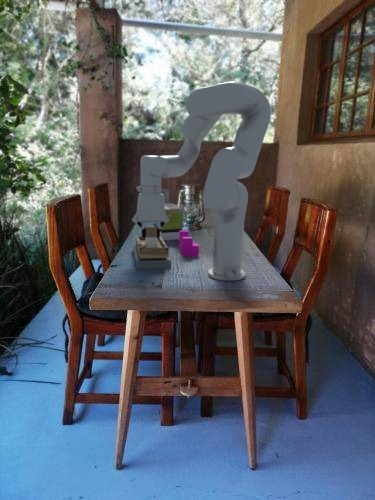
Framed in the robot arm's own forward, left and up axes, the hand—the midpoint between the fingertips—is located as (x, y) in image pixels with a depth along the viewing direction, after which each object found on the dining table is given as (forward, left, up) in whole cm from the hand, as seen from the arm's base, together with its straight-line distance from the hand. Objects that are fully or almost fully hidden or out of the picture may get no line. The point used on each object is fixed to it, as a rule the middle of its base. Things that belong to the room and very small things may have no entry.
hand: (150, 238), depth 152 cm
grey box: (-7, 0, -2) cm, 7 cm away
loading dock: (0, 0, -8) cm, 8 cm away
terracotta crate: (+9, +34, -76) cm, 84 cm away
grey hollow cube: (+100, -20, -8) cm, 103 cm away
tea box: (+37, -11, -8) cm, 40 cm away
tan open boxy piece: (-1, 0, -5) cm, 5 cm away
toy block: (+9, -16, -8) cm, 21 cm away
